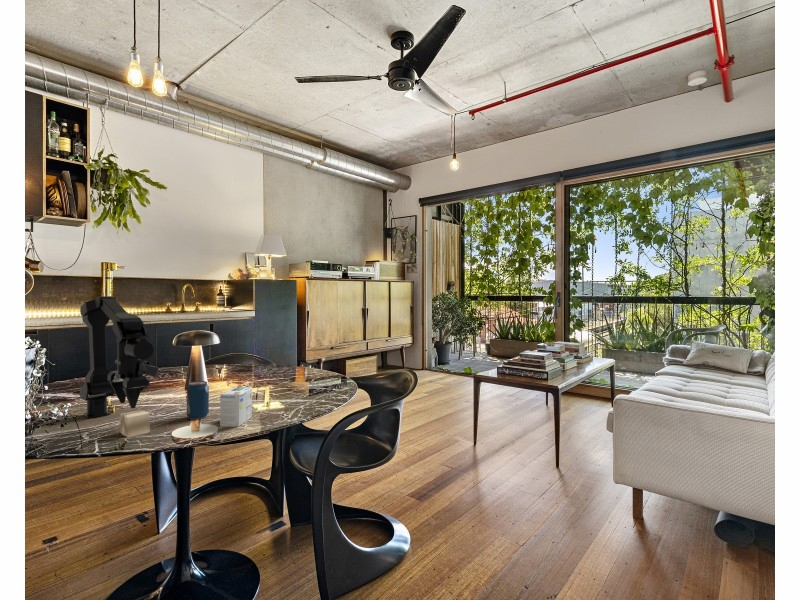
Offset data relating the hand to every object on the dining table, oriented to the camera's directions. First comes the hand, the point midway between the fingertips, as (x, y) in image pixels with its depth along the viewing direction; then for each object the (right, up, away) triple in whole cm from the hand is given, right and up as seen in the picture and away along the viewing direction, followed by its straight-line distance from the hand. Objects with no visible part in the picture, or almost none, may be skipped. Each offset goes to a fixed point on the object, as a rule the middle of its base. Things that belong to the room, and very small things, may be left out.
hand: (127, 405), depth 129 cm
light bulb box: (+31, -8, +8) cm, 33 cm away
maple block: (+3, -4, -2) cm, 5 cm away
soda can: (+16, -8, +13) cm, 22 cm away
